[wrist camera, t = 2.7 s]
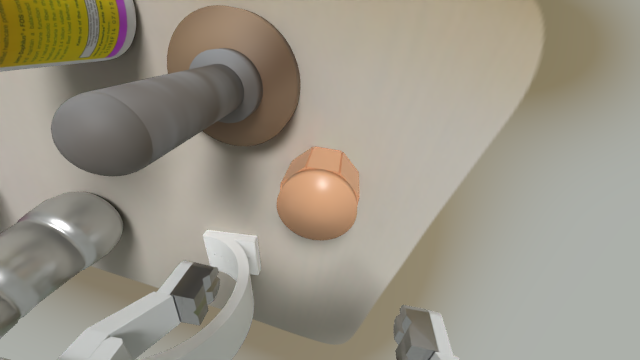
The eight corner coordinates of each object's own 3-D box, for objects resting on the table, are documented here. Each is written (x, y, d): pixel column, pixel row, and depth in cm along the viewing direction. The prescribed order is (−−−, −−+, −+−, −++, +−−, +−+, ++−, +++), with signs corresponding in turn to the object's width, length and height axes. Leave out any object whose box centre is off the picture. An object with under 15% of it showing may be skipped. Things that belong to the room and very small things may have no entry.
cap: (277, 171, 20) (260, 200, 16) (329, 134, 18) (323, 159, 14) (317, 215, 21) (310, 250, 18) (370, 187, 19) (373, 220, 16)
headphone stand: (207, 229, 24) (95, 375, 14) (268, 237, 24) (200, 395, 13) (215, 262, 26) (124, 408, 16) (271, 270, 26) (214, 426, 16)
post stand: (158, 68, 17) (-120, 117, 7) (236, -29, 14) (-73, -186, 4) (243, 157, 19) (129, 284, 10) (325, 94, 16) (277, 187, 6)
